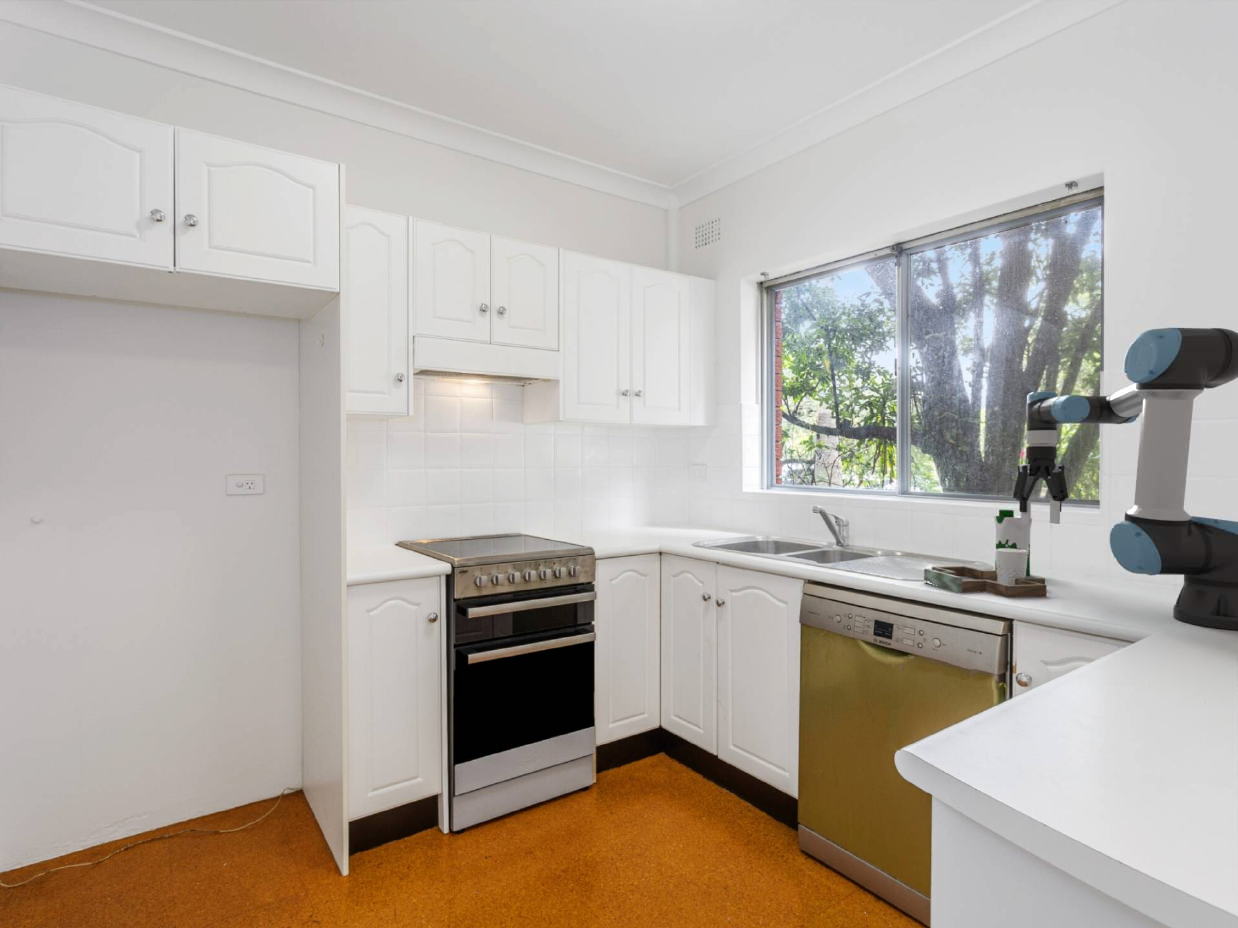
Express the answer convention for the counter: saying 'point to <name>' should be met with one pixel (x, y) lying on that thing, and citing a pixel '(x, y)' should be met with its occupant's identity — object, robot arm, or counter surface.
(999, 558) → the white cup
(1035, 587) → the wooden tray
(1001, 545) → the milk carton
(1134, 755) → the counter surface
